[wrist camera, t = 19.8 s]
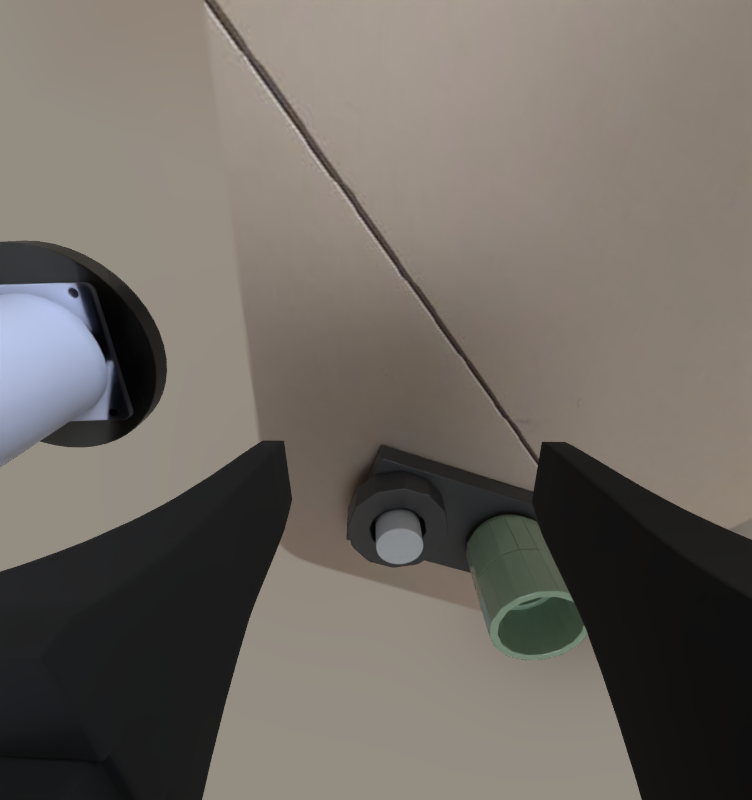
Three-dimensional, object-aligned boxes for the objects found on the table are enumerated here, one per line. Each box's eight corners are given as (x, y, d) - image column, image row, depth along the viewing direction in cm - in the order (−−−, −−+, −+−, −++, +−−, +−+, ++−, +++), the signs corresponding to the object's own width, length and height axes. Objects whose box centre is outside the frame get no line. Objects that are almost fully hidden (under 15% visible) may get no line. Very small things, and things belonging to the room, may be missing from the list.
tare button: (369, 536, 22) (369, 558, 20) (384, 502, 21) (386, 523, 19) (409, 547, 22) (412, 569, 21) (426, 514, 21) (430, 536, 20)
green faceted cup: (461, 572, 24) (485, 662, 19) (467, 511, 23) (495, 593, 18) (538, 569, 25) (582, 658, 20) (550, 508, 23) (602, 589, 18)
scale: (337, 520, 24) (333, 557, 22) (370, 441, 22) (370, 471, 19) (530, 573, 27) (548, 613, 24) (578, 506, 24) (604, 542, 22)
